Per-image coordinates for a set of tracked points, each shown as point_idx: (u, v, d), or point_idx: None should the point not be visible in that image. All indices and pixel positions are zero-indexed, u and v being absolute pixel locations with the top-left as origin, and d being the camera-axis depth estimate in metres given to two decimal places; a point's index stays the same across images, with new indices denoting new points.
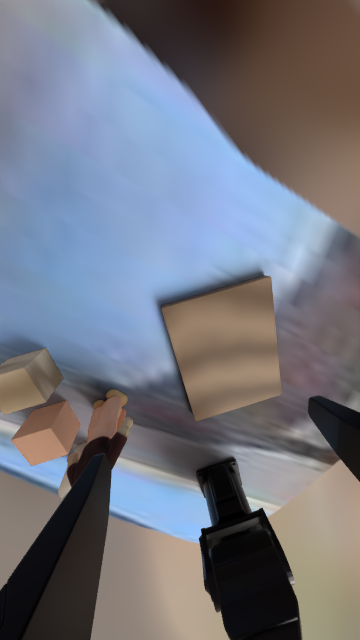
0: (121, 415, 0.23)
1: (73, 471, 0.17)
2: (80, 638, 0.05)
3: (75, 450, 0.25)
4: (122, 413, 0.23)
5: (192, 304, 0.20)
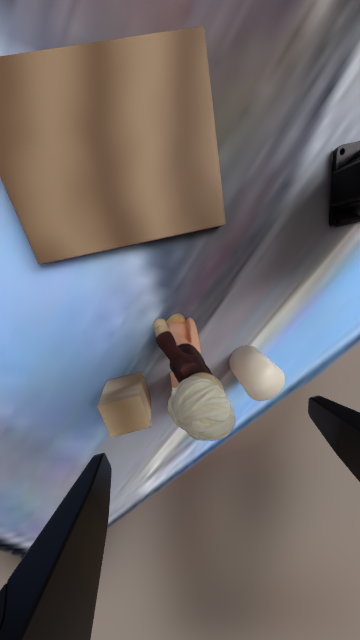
0: (188, 324, 0.19)
1: None
2: (80, 638, 0.05)
3: None
4: (187, 322, 0.19)
5: (26, 219, 0.15)
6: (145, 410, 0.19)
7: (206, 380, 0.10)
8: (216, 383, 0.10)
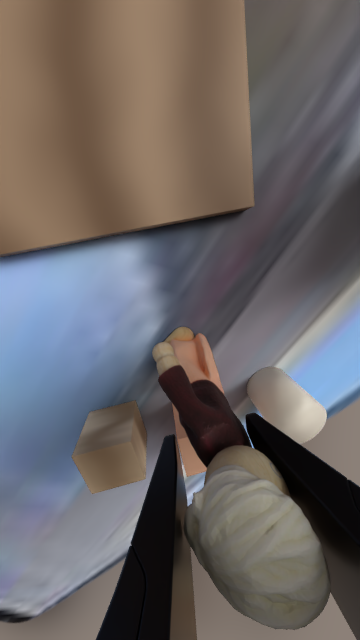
0: (198, 342, 0.14)
1: None
2: (191, 601, 0.05)
3: None
4: (197, 340, 0.14)
5: None
6: (138, 458, 0.14)
7: (264, 485, 0.05)
8: (276, 480, 0.06)
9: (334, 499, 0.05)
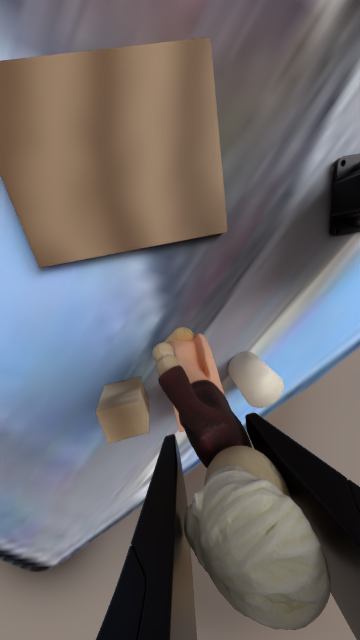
0: (198, 342, 0.14)
1: None
2: (191, 601, 0.05)
3: (232, 378, 0.23)
4: (197, 340, 0.14)
5: (28, 223, 0.15)
6: (143, 416, 0.19)
7: (264, 485, 0.05)
8: (276, 480, 0.06)
9: (334, 499, 0.05)
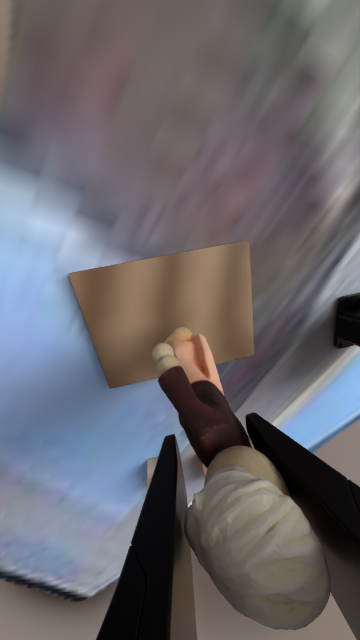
0: (198, 343, 0.14)
1: None
2: (191, 601, 0.05)
3: None
4: (197, 341, 0.14)
5: (105, 361, 0.19)
6: None
7: (264, 485, 0.05)
8: (276, 480, 0.06)
9: (333, 499, 0.05)
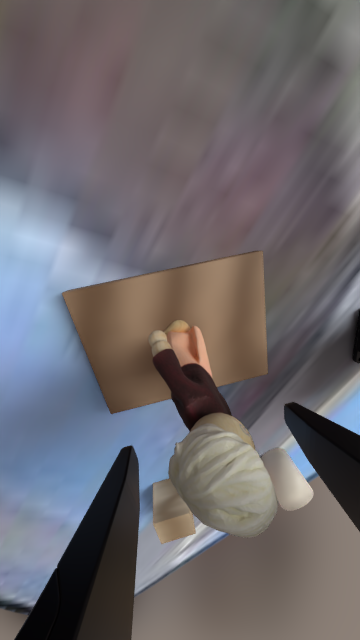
0: (193, 334, 0.15)
1: None
2: (124, 623, 0.05)
3: None
4: (192, 332, 0.15)
5: (105, 385, 0.18)
6: (192, 521, 0.22)
7: (230, 435, 0.06)
8: (243, 435, 0.07)
9: None
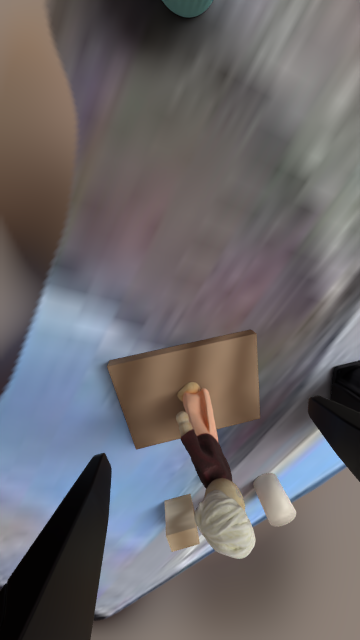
0: (203, 396, 0.20)
1: None
2: (80, 638, 0.05)
3: None
4: (202, 394, 0.21)
5: (133, 428, 0.23)
6: (197, 534, 0.27)
7: (230, 500, 0.11)
8: (237, 498, 0.12)
9: None
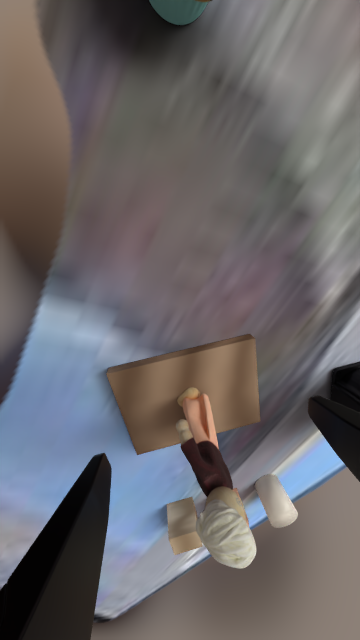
0: (203, 402, 0.20)
1: None
2: (80, 638, 0.05)
3: (258, 493, 0.31)
4: (202, 400, 0.21)
5: (134, 434, 0.23)
6: None
7: (230, 510, 0.12)
8: (238, 507, 0.12)
9: None
